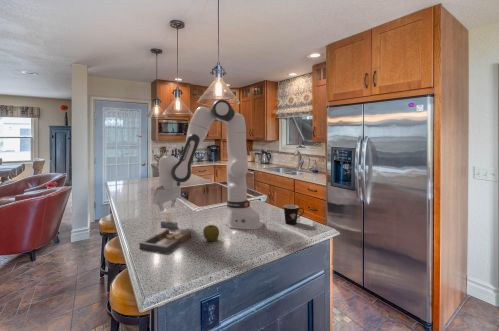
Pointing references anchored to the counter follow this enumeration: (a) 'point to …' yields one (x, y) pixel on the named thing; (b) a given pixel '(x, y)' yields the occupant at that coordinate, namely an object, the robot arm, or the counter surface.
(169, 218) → the grey post with peg
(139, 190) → the counter surface
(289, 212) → the coffee mug
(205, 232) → the apple
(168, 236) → the brass chip
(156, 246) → the grey angled bracket
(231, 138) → the robot arm
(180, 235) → the brass chip
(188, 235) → the walnut slot rails
